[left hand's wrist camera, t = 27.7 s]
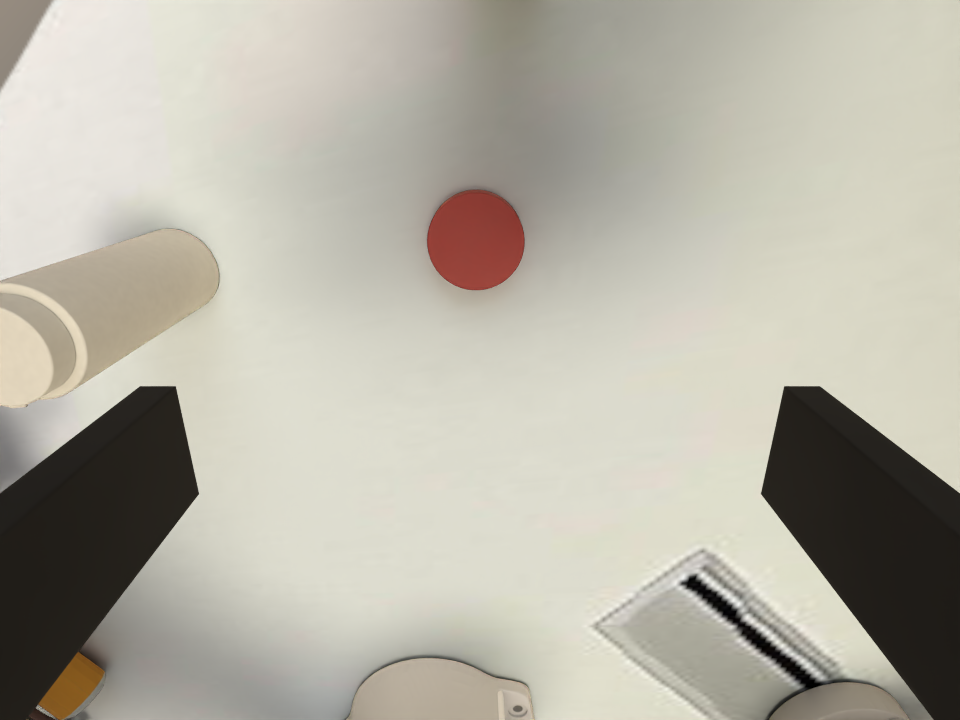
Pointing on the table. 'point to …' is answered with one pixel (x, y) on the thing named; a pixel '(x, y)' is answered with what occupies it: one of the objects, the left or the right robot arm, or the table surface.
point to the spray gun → (72, 690)
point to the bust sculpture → (841, 704)
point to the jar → (96, 311)
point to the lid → (475, 240)
